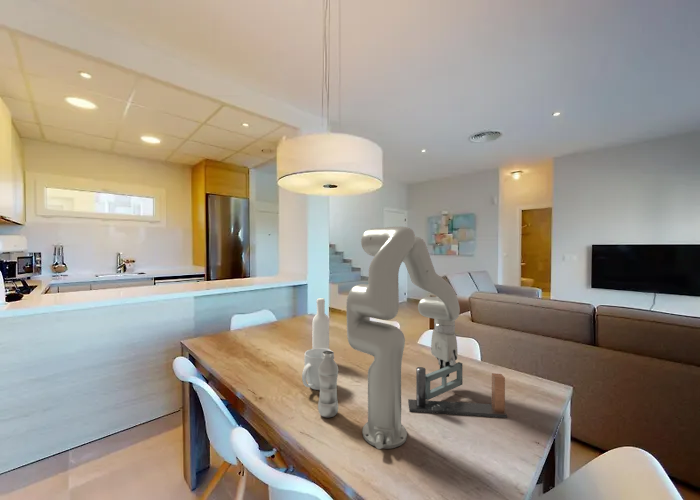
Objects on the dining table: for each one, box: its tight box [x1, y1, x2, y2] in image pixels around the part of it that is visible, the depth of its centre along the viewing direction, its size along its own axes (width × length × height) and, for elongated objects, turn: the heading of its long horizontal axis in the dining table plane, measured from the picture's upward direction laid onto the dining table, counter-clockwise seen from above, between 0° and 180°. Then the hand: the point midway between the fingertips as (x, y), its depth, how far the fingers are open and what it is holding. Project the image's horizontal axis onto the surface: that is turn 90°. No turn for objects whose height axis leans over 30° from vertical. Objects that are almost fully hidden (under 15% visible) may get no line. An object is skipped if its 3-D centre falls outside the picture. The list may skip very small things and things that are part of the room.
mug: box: [301, 348, 332, 391], centre depth 113 cm, size 15×11×13 cm
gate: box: [426, 361, 463, 401], centre depth 106 cm, size 20×2×8 cm, turn 125°
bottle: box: [311, 297, 330, 349], centre depth 138 cm, size 8×8×30 cm
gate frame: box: [407, 366, 508, 419], centre depth 98 cm, size 6×30×13 cm, turn 83°
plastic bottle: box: [317, 350, 339, 418], centre depth 95 cm, size 6×7×20 cm
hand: (444, 376), depth 112 cm, fingers closed
